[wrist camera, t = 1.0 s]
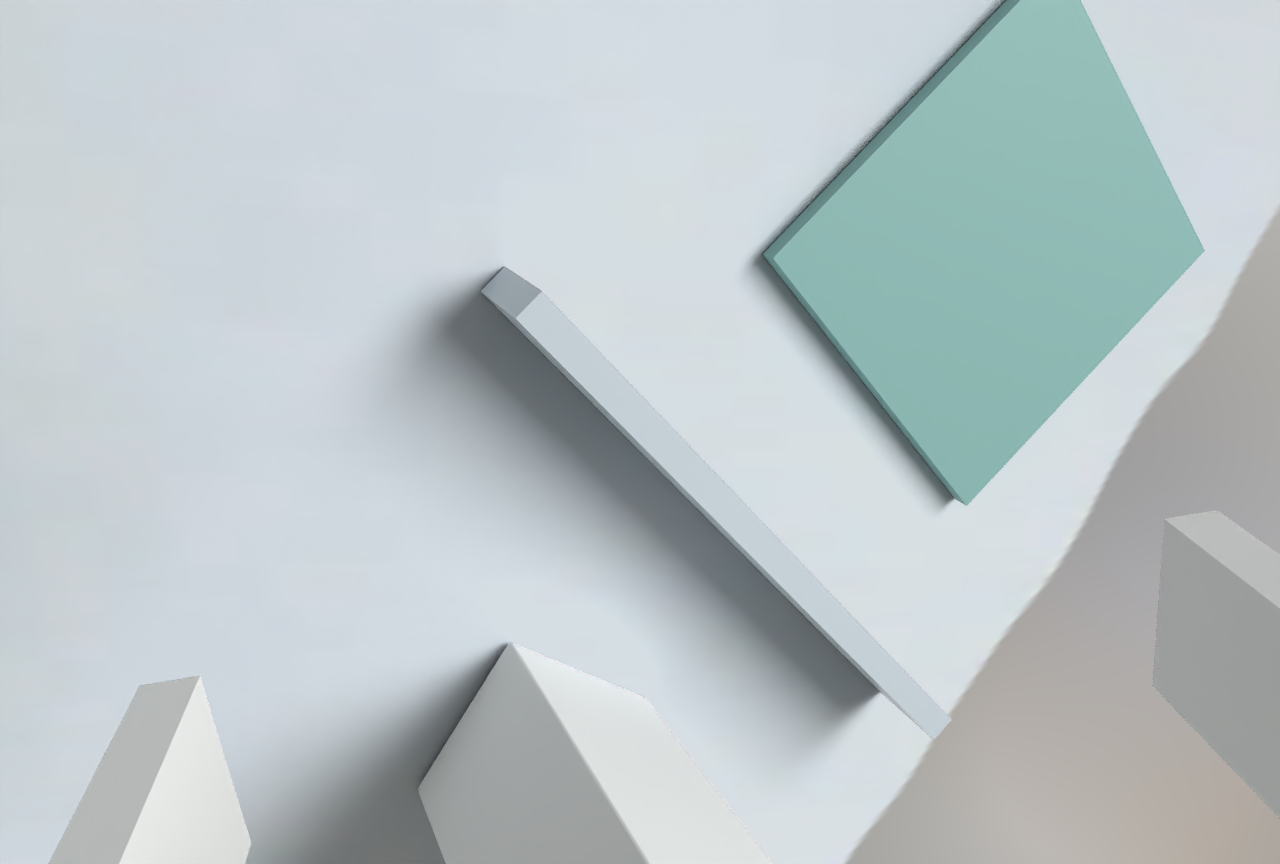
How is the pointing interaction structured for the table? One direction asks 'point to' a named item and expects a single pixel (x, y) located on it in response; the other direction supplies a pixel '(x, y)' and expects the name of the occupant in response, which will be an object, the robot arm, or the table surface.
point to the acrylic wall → (705, 490)
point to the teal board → (992, 240)
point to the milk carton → (573, 778)
